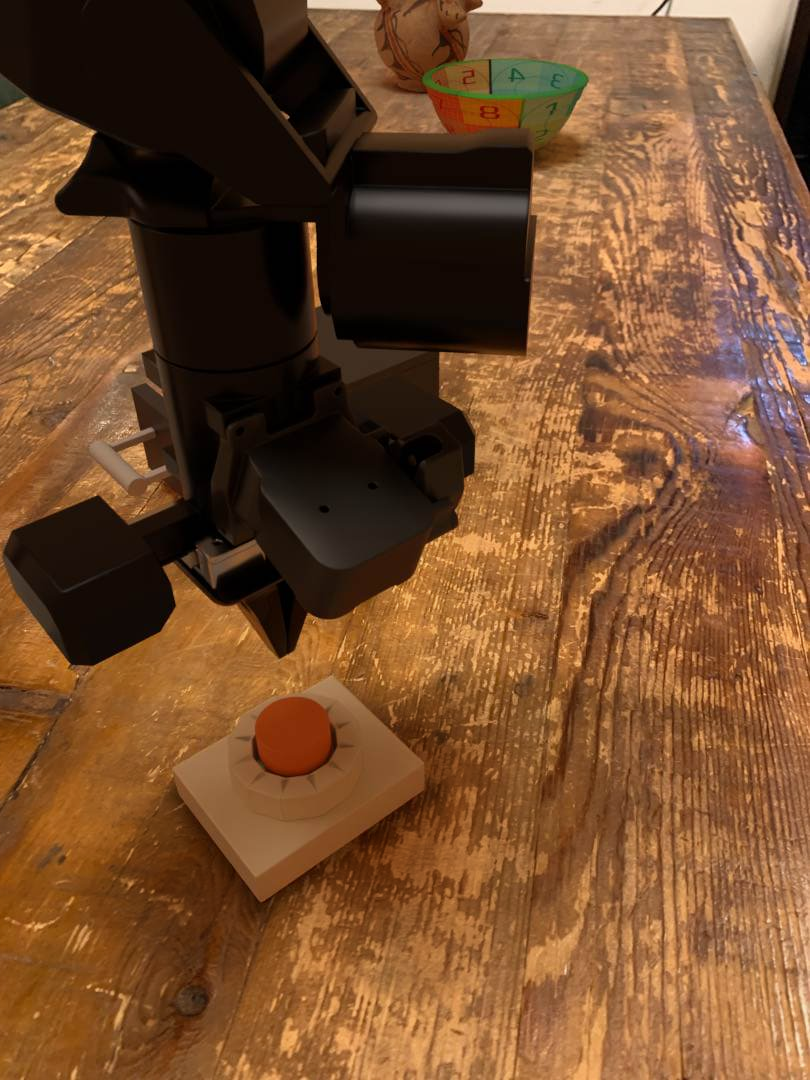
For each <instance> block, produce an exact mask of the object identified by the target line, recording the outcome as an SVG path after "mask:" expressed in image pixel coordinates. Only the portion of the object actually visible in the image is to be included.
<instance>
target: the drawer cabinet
mask: <svg viewBox="0 0 810 1080" xmlns="http://www.w3.org/2000/svg"><path fill="white" fill-rule="evenodd" d="M315 310H316V322H317V333H318V344H319V354H320V355H321V356H323V357H325V358H326V359H328V360H330V361H331V362H333V363H335V364H336V365H338V366H339V367H341V374H342V381H343V382H344V383H345V384H346V386H347V392H349V391H351V390H354V389H356V388H359V387H361V386H364V385H366V384H368V383H371V382H373V381H376V380H378V379H381V378H383V377H385V376H388V375H390V374H393V373H395V372H396V373H398V374H400V375H401V376H403V377H405V378H407V379H408V380H410V381H412V382H413V383H415V384H417V385H419V386H420V387H422V388H424V389H426V390H427V391H429V392H431V393H433V394H434V395H436V396H438V397H439V398H440V355H441V352H427V351H406V350H386V349H366V348H357V347H356V345H355V344H354V342H353V340H338V339H337V337H336V334H335V330H334V325H333V320H332V316H327V315H326V314H325V313H324V312H323V309H322V307H321V305H318V306H315Z"/></svg>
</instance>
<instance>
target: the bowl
mask: <svg viewBox="0 0 810 1080" xmlns="http://www.w3.org/2000/svg"><path fill="white" fill-rule="evenodd" d="M589 80H590V78H589V76H588V75H587V73H585V71H583V70H580V69H578V68H576V67H574V66H570V65H567V64H564V63H559V62H554V61H547V60H542V59H541V60H540V59H530V58H513V57H512V58H505V57H504V58H502V57H501V58H500V57H499V58H482V59H471V60H464V61H462V62H456V63H451V64H447V65H443V66H440V67H437V68H434V69H432V70H430V71H428V72H427V73H426V74H425V75H424V76H423V78H422V81H423V84H424V86H425V87H426V89H427V91H428V92H427V94H428V95H427V96H428V98H429V100H431V102H432V106H433V108H434V110H435V113H436V117H437V118H438V120H439V122H440V123H441V125H442V126H443V128H444V129H445V130H446V131H447V132H448V134H467V133H472V132H477V131H481V130H485V129H489V128H528V129H530V130H531V131H532V133H533V134H534V135H535V146H534V151H536V150H538V149H540V148H542V147H543V146H545V145H546V144H547V143H549V142H550V141H552V139H553V138H554V137H556V135H557V134H558V133H560V131H561V130H562V129H563V128H564V126H565V125H566V124H567V122H568V120H569V119H570V118H571V116H572V113H573V111H574V110H575V107H576V106H577V103H578V101H579V100H581V97H582V95H583V92H584V89H585V88H586V87H587V85H588V83H589Z"/></svg>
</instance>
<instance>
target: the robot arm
mask: <svg viewBox="0 0 810 1080" xmlns="http://www.w3.org/2000/svg"><path fill="white" fill-rule="evenodd" d="M308 13H309V11H308V0H0V77H2V78H3V79H4V80H5V81H6V82H7V83H9V84H11V85H12V86H13V87H14V88H16V89H17V90H18V91H19V92H20V93H22V94H23V96H25V97H27V98H28V99H29V100H30V101H32V102H33V104H35V105H36V106H38V107H40V108H42V109H44V110H46V111H48V112H51V113H53V114H56V115H58V116H60V117H63V118H65V119H67V120H69V121H72V122H74V123H76V124H78V125H81V126H83V127H85V128H88V129H89V130H92V131H95V133H94V134H92V136H91V139H90V143H89V146H88V148H87V151H86V154H85V156H84V158H83V159H82V162H81V163H80V165H79V166H78V168H76V170H75V172H74V174H73V175H71V177H70V178H69V180H68V181H67V182H66V183H65V184H64V185H63V186H62V187H61V188H60V189H59V190H58V191H57V192H56V193H55V195H54V198H53V200H54V205H55V208H56V209H57V210H58V211H59V213H61V214H62V215H64V216H69V217H94V218H95V217H98V218H121V219H122V218H123V219H126V220H127V224H128V230H129V234H130V239H131V245H132V250H133V254H134V259H135V265H136V267H137V268H136V270H137V275H138V279H139V283H140V288H141V289H140V290H141V294H142V299H143V303H144V309H145V313H146V317H147V318H146V319H147V323H148V328H149V332H150V338H151V342H152V347H153V348H152V349H149V350H146V351H143V352H141V359H142V363H143V367H144V372H145V378H146V379H148V380H149V381H150V382H151V383H153V385H155V386H157V387H158V388H159V389H161V393H162V396H163V397H164V402H165V407H166V412H167V417H168V421H169V426H170V431H171V436H172V441H173V444H171V445H169V446H166V447H164V448H162V452H163V457H164V462H165V466H166V470H167V471H168V472H170V473H171V474H172V475H173V476H174V477H175V478H176V479H177V480H179V481H180V482H181V485H182V490H183V495H184V496H182V497H180V496H179V497H177V498H175V499H173V500H170V501H168V502H166V503H164V504H161V505H159V506H157V507H156V506H155V507H154V508H152V509H150V510H148V511H145V512H142V513H140V514H137V515H136V516H134V517H131V518H129V519H127V520H124V518H123V517H122V516H120V515H119V513H118V512H116V511H115V509H114V508H112V506H111V505H110V504H108V502H106V500H105V499H104V498H103V497H102V496H101V495H100V494H97V495H95V496H92V497H90V498H88V499H87V498H86V499H85V500H83V501H80V502H78V503H75V504H73V505H70V506H68V507H66V508H63V509H60V510H58V511H56V512H53V513H50V514H49V515H45V516H44V517H41V518H39V519H36V520H34V521H31V522H29V523H27V524H24V525H22V526H19V527H17V528H14V529H13V530H11V531H10V534H9V536H8V539H7V542H6V545H5V546H4V549H3V552H2V556H1V559H2V562H3V564H4V566H5V569H6V572H7V575H8V577H9V580H10V583H11V586H12V589H13V590H14V592H15V594H16V595H17V596H18V597H19V599H20V600H21V602H22V603H23V604H24V605H25V606H26V608H27V609H28V611H29V612H30V613H31V615H32V616H33V617H34V619H35V620H36V621H37V622H38V624H39V625H40V627H41V628H42V629H43V631H45V633H46V635H47V636H48V637H49V639H50V640H51V641H52V642H53V643H54V645H55V646H56V648H57V649H58V650H59V652H60V653H61V654H62V655H63V657H64V658H65V660H66V661H67V662H68V663H69V665H71V666H85V667H94V666H96V665H98V664H100V663H102V662H104V661H106V660H109V659H110V658H112V657H113V656H116V655H118V654H120V653H122V652H124V651H126V650H127V649H129V648H131V647H134V646H136V645H138V644H140V643H141V642H144V641H145V640H147V639H150V638H151V637H153V636H155V635H158V634H159V633H161V632H162V630H163V629H164V627H165V625H166V623H167V622H168V620H169V619H170V617H171V615H172V614H173V613H174V611H175V608H176V607H177V603H176V599H175V594H174V590H173V585H172V582H171V581H170V579H169V576H168V574H167V573H166V571H165V569H164V567H165V566H169V565H170V564H172V563H173V564H174V565H175V566H176V567H177V568H178V569H179V571H180V572H182V573H183V574H184V575H185V576H186V577H187V578H188V579H189V580H190V581H191V582H192V583H193V584H194V585H195V586H196V587H197V588H198V589H199V590H200V591H201V593H203V594H204V595H205V596H206V597H207V598H208V599H209V600H210V601H211V602H212V603H213V604H215V605H217V606H220V607H225V608H226V607H233V606H235V605H236V606H237V607H238V609H239V610H240V612H241V613H242V614H243V617H245V618H246V620H247V621H248V623H249V624H250V626H251V627H252V628H253V630H254V632H255V633H256V634H257V636H258V637H259V638H260V639H261V641H262V642H263V643H264V645H265V646H266V648H267V650H269V651H270V652H271V653H272V654H273V655H274V656H275V657H276V658H277V659H279V660H281V659H282V658H285V657H286V656H287V655H291V654H292V653H293V652H295V651H296V648H297V645H298V642H299V640H300V636H301V633H302V630H303V628H304V625H305V622H306V619H307V616H308V614H309V615H311V616H312V617H315V618H317V619H321V620H325V621H326V620H336V619H340V618H343V617H344V616H347V615H348V614H349V613H351V612H353V611H354V610H355V609H356V608H357V607H358V606H360V605H361V604H364V603H365V602H367V601H369V600H370V599H373V598H374V597H376V596H377V595H380V594H381V593H383V592H385V591H387V590H388V589H390V588H392V587H394V586H400V585H402V584H404V583H405V582H407V581H408V580H410V579H411V578H412V577H413V576H414V574H415V573H416V570H417V568H418V565H419V563H420V560H421V558H422V555H423V552H424V550H425V547H426V545H427V544H430V543H431V542H433V541H435V540H437V539H438V538H441V537H442V536H444V535H446V534H448V533H450V532H452V531H454V530H455V529H457V528H458V526H459V523H460V521H459V517H458V514H457V512H456V510H457V509H458V506H459V504H460V502H461V499H462V497H463V495H464V490H465V479H466V478H468V477H470V476H472V475H474V474H475V466H476V445H477V443H476V440H477V439H476V437H477V431H476V430H475V427H474V425H473V424H472V422H471V419H470V418H469V416H468V414H467V413H466V412H465V411H463V410H462V409H461V408H459V407H457V406H455V405H453V404H452V403H450V402H448V401H447V400H444V399H443V398H441V397H440V396H439V397H438V396H436V395H434V394H433V393H431V392H429V391H427V390H426V389H424V388H422V387H420V386H419V385H417V384H415V383H413V382H412V381H410V380H408V379H407V378H405V377H403V376H401V375H400V374H398V373H396V372H395V373H393V374H390V375H388V376H385V377H383V378H381V379H378V380H376V381H373V382H371V383H368V384H366V385H364V386H361V387H359V388H356V389H354V390H351V391H349V392H347V386H346V384H345V383H344V382H343V381H342V374H341V367H339V366H338V365H336V364H335V363H333V362H331V361H330V360H328V359H326V358H325V357H323V356H321V355H320V354H319V344H318V333H317V322H316V310H315V308H316V300H315V290H314V276H313V266H312V265H313V263H312V253H311V252H312V251H311V240H310V239H311V238H310V230H309V229H310V227H309V223H310V224H311V223H312V224H315V239H316V241H315V242H316V243H315V244H316V249H315V251H316V252H315V253H316V257H315V258H316V263H315V264H316V265H315V266H316V268H315V269H316V282H317V283H316V284H317V291H318V298H319V302H320V306H321V307H322V309H323V312H324V313H325V314H326V315H327V316H332V320H333V325H334V330H335V334H336V337H337V339H338V340H353V342H354V344H355V345H356V347H357V348H366V349H386V350H406V351H427V352H440V353H448V354H449V353H452V354H469V355H470V354H471V355H490V356H512V357H527V355H528V354H527V353H528V343H529V334H530V333H529V332H530V319H531V307H532V306H531V305H532V293H533V283H534V282H533V280H534V266H535V252H536V239H537V223H538V215H537V214H532V207H533V191H534V190H533V188H534V186H533V185H534V159H535V150H534V146H535V135H534V134H533V133H532V131H531V130H530V129H528V128H489V129H485V130H481V131H477V132H472V133H467V134H449V133H429V132H428V133H427V132H424V133H423V132H385V131H384V132H382V131H381V132H380V131H379V132H377V131H373V130H374V128H375V127H376V125H377V122H378V118H379V117H378V112H377V111H376V109H375V107H374V106H373V104H372V103H371V102H370V101H369V99H368V98H367V96H366V95H365V94H364V92H363V91H362V90H361V88H360V87H359V85H358V84H357V83H356V81H355V80H354V79H353V77H352V76H351V75H350V73H349V72H348V70H347V69H346V68H345V67H344V65H343V63H342V62H341V61H340V59H339V58H338V56H337V54H336V53H335V52H334V51H333V49H331V47H330V46H329V44H328V43H327V41H326V40H325V38H324V37H323V36H322V34H321V33H320V32H319V30H318V29H317V28H316V26H315V24H314V23H313V22H312V21H311V19H310V18H309V16H308V15H309V14H308ZM279 109H280V110H279ZM285 115H286V116H288V118H287V117H285Z"/></svg>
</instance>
